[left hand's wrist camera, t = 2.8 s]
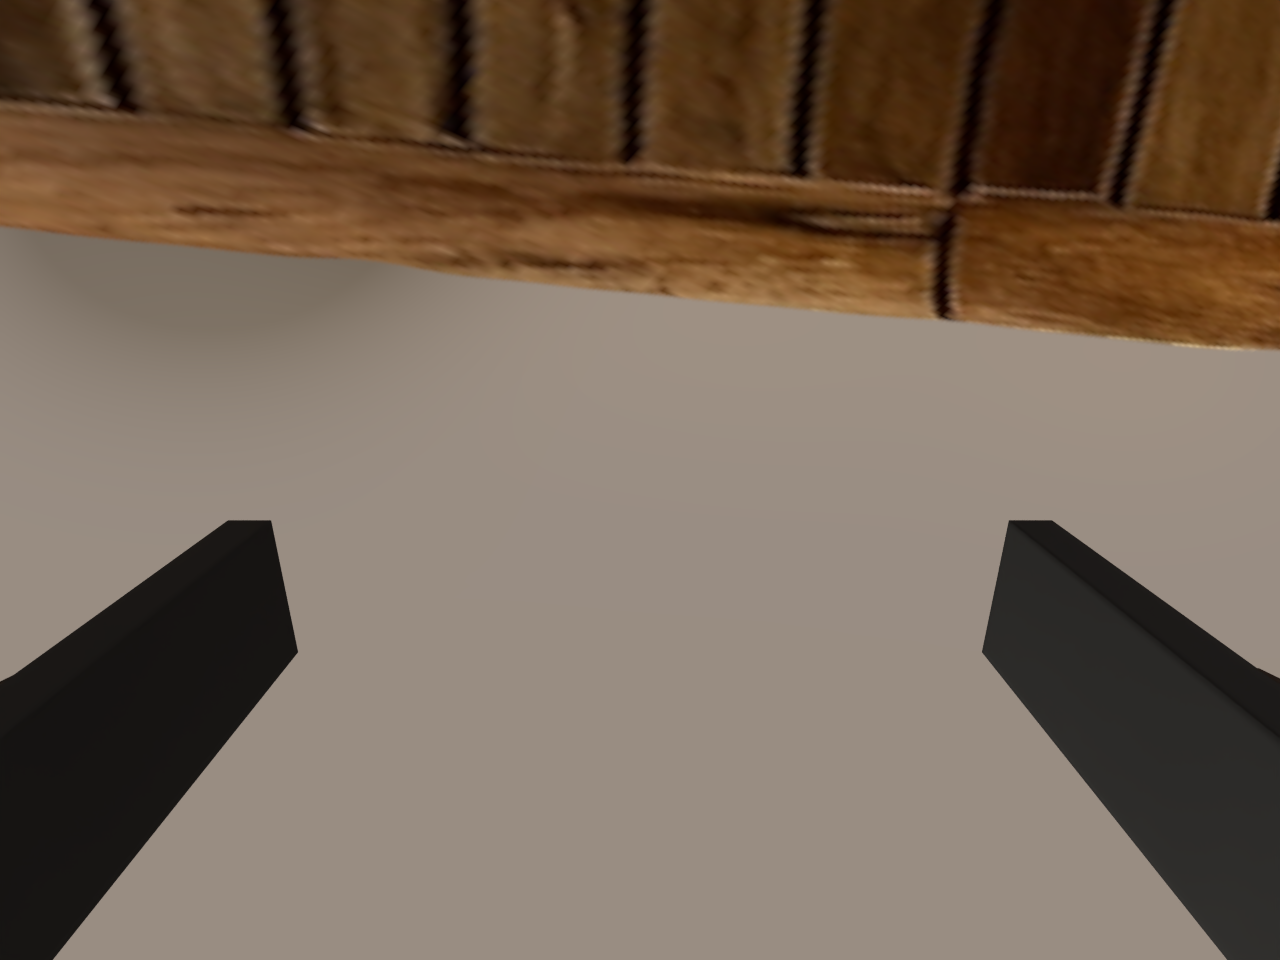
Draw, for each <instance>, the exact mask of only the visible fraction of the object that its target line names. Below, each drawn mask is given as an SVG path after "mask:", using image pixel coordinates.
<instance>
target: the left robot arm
mask: <svg viewBox="0 0 1280 960" xmlns="http://www.w3.org/2000/svg"><path fill="white" fill-rule="evenodd" d="M297 653H298V650H297V645H296V640H295V635H294V630H293V625H292V621H291V616H290V611H289V606H288V601H287V596H286V591H285V586H284V581H283V577H282V572H281V567H280V562H279V557H278V552H277V547H276V542H275V537H274V533H273V528H272V523H271V521H270V520H269V521H268V520H267V521H264V520H262V521H257V520H256V521H251V520H249V521H248V520H245V521H244V520H242V521H237V520H235V521H234V520H230V521H227V522H225V523H224V524H222V525H221V526H220V527H218V528H217V529H216V530H214V531H213V532H211V533H210V534H209V535H207V536H206V537H204V538H203V539H202V540H200V541H199V542H197V543H196V544H195V545H193V546H192V547H191V548H189V549H188V550H186V551H185V552H184V553H182V554H181V555H179V556H178V557H177V558H175V559H174V560H173V561H171V562H170V563H168V564H167V565H166V566H164V567H163V568H161V569H160V570H159V571H157V572H156V573H154V574H153V575H152V576H150V577H149V578H148V579H146V580H145V581H143V582H142V583H141V584H139V585H138V586H136V587H135V588H134V589H132V590H131V591H130V592H128V593H127V594H125V595H124V596H123V597H121V598H120V599H119V600H117V601H116V602H114V603H113V604H112V605H110V606H109V607H107V608H106V609H105V610H103V611H102V612H100V613H99V614H98V615H96V616H95V617H94V618H92V619H91V620H89V621H88V622H87V623H85V624H84V625H82V626H81V627H80V628H78V629H77V630H76V631H74V632H73V633H71V634H70V635H69V636H67V637H66V638H64V639H63V640H62V641H60V642H59V643H58V644H56V645H55V646H53V647H52V648H51V649H49V650H48V651H46V652H45V653H44V654H42V655H41V656H39V657H38V658H37V659H35V660H34V661H32V662H31V663H30V664H28V665H27V666H26V667H24V668H23V669H22V670H20V671H19V672H17V673H16V674H14V675H13V676H11V677H9V678H7V679H5V680H3V681H1V682H0V960H53V959H54V957H55V956H56V955H57V954H58V952H59V951H60V950H61V949H62V947H63V946H64V945H65V944H66V942H67V941H68V940H69V939H70V937H71V936H72V935H73V934H74V932H75V931H76V930H77V929H78V927H79V926H80V925H81V924H82V922H83V921H84V920H85V918H86V917H87V916H88V915H89V913H90V912H91V911H92V910H93V909H94V907H95V906H96V905H97V904H98V902H99V901H100V900H101V899H102V897H103V896H104V895H105V894H106V892H107V891H108V890H109V889H110V887H111V886H112V885H113V883H114V882H115V881H116V880H117V878H118V877H119V876H120V875H121V873H122V872H123V871H124V870H125V868H126V867H127V866H128V865H129V863H130V862H131V861H132V860H133V858H134V857H135V856H136V855H137V853H138V852H139V851H140V850H141V848H142V847H143V846H144V845H145V843H146V842H147V841H148V840H149V838H150V837H151V836H152V835H153V833H154V832H155V831H156V830H157V828H158V827H159V826H160V825H161V823H162V822H163V821H164V820H165V818H166V817H167V816H168V815H169V813H170V812H171V811H172V810H173V808H174V807H175V806H176V804H177V803H178V802H179V801H180V799H181V798H182V797H183V796H184V794H185V793H186V792H187V791H188V789H189V788H190V787H191V786H192V784H193V783H194V782H195V781H196V779H197V778H198V777H199V776H200V774H201V773H202V772H203V771H204V769H205V768H206V767H207V766H208V764H209V763H210V762H211V761H212V759H213V758H214V757H215V756H216V754H217V753H218V752H219V750H220V749H221V748H222V747H223V745H224V744H225V743H226V742H227V740H228V739H229V738H230V737H231V735H232V734H233V733H234V732H235V731H236V729H237V728H238V727H239V725H240V724H241V723H242V722H243V720H244V719H245V718H246V717H247V715H248V714H249V713H250V712H251V710H252V709H253V708H254V707H255V705H256V704H257V703H258V702H259V700H260V699H261V698H262V697H263V695H264V694H265V693H266V692H267V690H268V689H269V688H270V687H271V685H272V684H273V683H274V681H275V680H276V679H277V678H278V677H279V675H280V674H281V673H282V672H283V670H284V669H285V668H286V667H287V665H288V664H289V663H290V662H291V660H292V659H293V658H294V657H295V655H296V654H297ZM982 653H983V654H984V655H985V656H986V658H987V659H988V660H989V662H990V663H991V664H992V665H993V666H994V668H995V669H996V670H997V672H998V673H999V674H1000V675H1001V676H1002V678H1003V679H1004V680H1005V682H1006V683H1007V684H1008V685H1009V687H1010V688H1011V689H1012V690H1013V692H1014V693H1015V694H1016V695H1017V697H1018V698H1019V699H1020V700H1021V702H1022V703H1023V704H1024V705H1025V707H1026V708H1027V709H1028V710H1029V712H1030V713H1031V714H1032V715H1033V717H1034V718H1035V719H1036V720H1037V722H1038V723H1039V724H1040V725H1041V727H1042V728H1043V729H1044V730H1045V732H1046V733H1047V734H1048V735H1049V737H1050V738H1051V739H1052V741H1053V742H1054V743H1055V744H1056V745H1057V747H1058V748H1059V749H1060V751H1061V752H1062V753H1063V754H1064V756H1065V757H1066V758H1067V759H1068V761H1069V762H1070V763H1071V764H1072V766H1073V767H1074V768H1075V769H1076V771H1077V772H1078V773H1079V774H1080V776H1081V777H1082V778H1083V779H1084V781H1085V782H1086V783H1087V784H1088V786H1089V787H1090V788H1091V789H1092V791H1093V792H1094V793H1095V794H1096V796H1097V797H1098V798H1099V799H1100V801H1101V802H1102V803H1103V804H1104V806H1105V807H1106V808H1107V810H1108V811H1109V812H1110V813H1111V815H1112V816H1113V817H1114V818H1115V820H1116V821H1117V822H1118V823H1119V825H1120V826H1121V827H1122V828H1123V829H1124V831H1125V832H1126V833H1127V835H1128V836H1129V837H1130V838H1131V840H1132V841H1133V842H1134V843H1135V845H1136V846H1137V847H1138V848H1139V850H1140V851H1141V852H1142V853H1143V855H1144V856H1145V857H1146V858H1147V860H1148V861H1149V862H1150V863H1151V865H1152V866H1153V867H1154V868H1155V870H1156V871H1157V872H1158V873H1159V875H1160V876H1161V877H1162V878H1163V880H1164V881H1165V882H1166V883H1167V885H1168V886H1169V887H1170V888H1171V890H1172V891H1173V892H1174V894H1175V895H1176V896H1177V897H1178V899H1179V900H1180V901H1181V902H1182V904H1183V905H1184V906H1185V907H1186V909H1187V910H1188V911H1189V912H1190V913H1191V915H1192V916H1193V917H1194V919H1195V920H1196V921H1197V922H1198V924H1199V925H1200V926H1201V927H1202V929H1203V930H1204V931H1205V932H1206V934H1207V935H1208V936H1209V937H1210V939H1211V940H1212V941H1213V942H1214V944H1215V945H1216V946H1217V947H1218V949H1219V950H1220V951H1221V952H1222V954H1223V955H1224V956H1225V957H1226V959H1227V960H1280V678H1278V677H1276V676H1274V675H1271V674H1269V673H1267V672H1265V671H1263V670H1261V669H1259V668H1256V667H1254V666H1253V665H1252V664H1250V663H1249V662H1247V661H1246V660H1245V659H1243V658H1242V657H1241V656H1239V655H1238V654H1236V653H1235V652H1234V651H1232V650H1231V649H1229V648H1228V647H1227V646H1225V645H1224V644H1223V643H1221V642H1220V641H1218V640H1217V639H1216V638H1214V637H1213V636H1211V635H1210V634H1209V633H1207V632H1206V631H1205V630H1203V629H1202V628H1200V627H1199V626H1198V625H1196V624H1195V623H1193V622H1192V621H1191V620H1189V619H1188V618H1187V617H1185V616H1184V615H1182V614H1181V613H1180V612H1178V611H1177V610H1175V609H1174V608H1173V607H1171V606H1170V605H1168V604H1167V603H1166V602H1164V601H1163V600H1161V599H1160V598H1159V597H1157V596H1156V595H1155V594H1153V593H1152V592H1150V591H1149V590H1148V589H1146V588H1145V587H1144V586H1142V585H1141V584H1139V583H1138V582H1136V581H1135V580H1134V579H1132V578H1131V577H1130V576H1128V575H1127V574H1126V573H1124V572H1123V571H1121V570H1120V569H1119V568H1117V567H1116V566H1114V565H1113V564H1112V563H1110V562H1109V561H1107V560H1106V559H1105V558H1103V557H1102V556H1101V555H1099V554H1098V553H1096V552H1095V551H1094V550H1092V549H1091V548H1089V547H1088V546H1087V545H1085V544H1084V543H1083V542H1081V541H1080V540H1078V539H1077V538H1076V537H1074V536H1073V535H1071V534H1070V533H1069V532H1067V531H1066V530H1065V529H1063V528H1062V527H1060V526H1059V525H1058V524H1056V523H1055V522H1053V521H1051V520H1045V521H1043V520H1042V521H1041V520H1040V521H1038V520H1035V521H1033V520H1032V521H1031V520H1029V521H1027V520H1026V521H1025V520H1016V521H1015V520H1013V521H1012V520H1010V521H1009V523H1008V528H1007V533H1006V537H1005V542H1004V547H1003V552H1002V557H1001V562H1000V567H999V572H998V577H997V581H996V586H995V591H994V596H993V601H992V606H991V611H990V616H989V621H988V626H987V630H986V635H985V640H984V645H983V650H982Z"/></svg>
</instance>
